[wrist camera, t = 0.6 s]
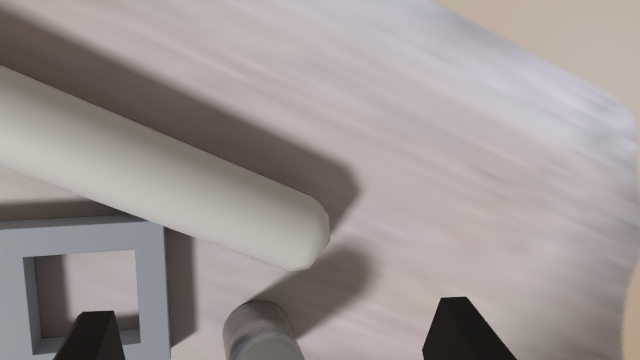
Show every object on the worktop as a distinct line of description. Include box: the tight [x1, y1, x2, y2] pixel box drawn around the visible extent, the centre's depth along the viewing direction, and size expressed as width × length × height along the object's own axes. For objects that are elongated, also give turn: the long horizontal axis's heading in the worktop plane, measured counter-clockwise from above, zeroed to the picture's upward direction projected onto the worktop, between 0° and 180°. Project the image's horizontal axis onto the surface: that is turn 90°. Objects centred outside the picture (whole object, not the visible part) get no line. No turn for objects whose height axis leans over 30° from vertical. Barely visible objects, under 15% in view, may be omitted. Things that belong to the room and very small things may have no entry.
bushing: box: [223, 300, 305, 360], centre depth 31 cm, size 4×4×7 cm
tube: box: [0, 65, 330, 271], centre depth 28 cm, size 5×5×25 cm
